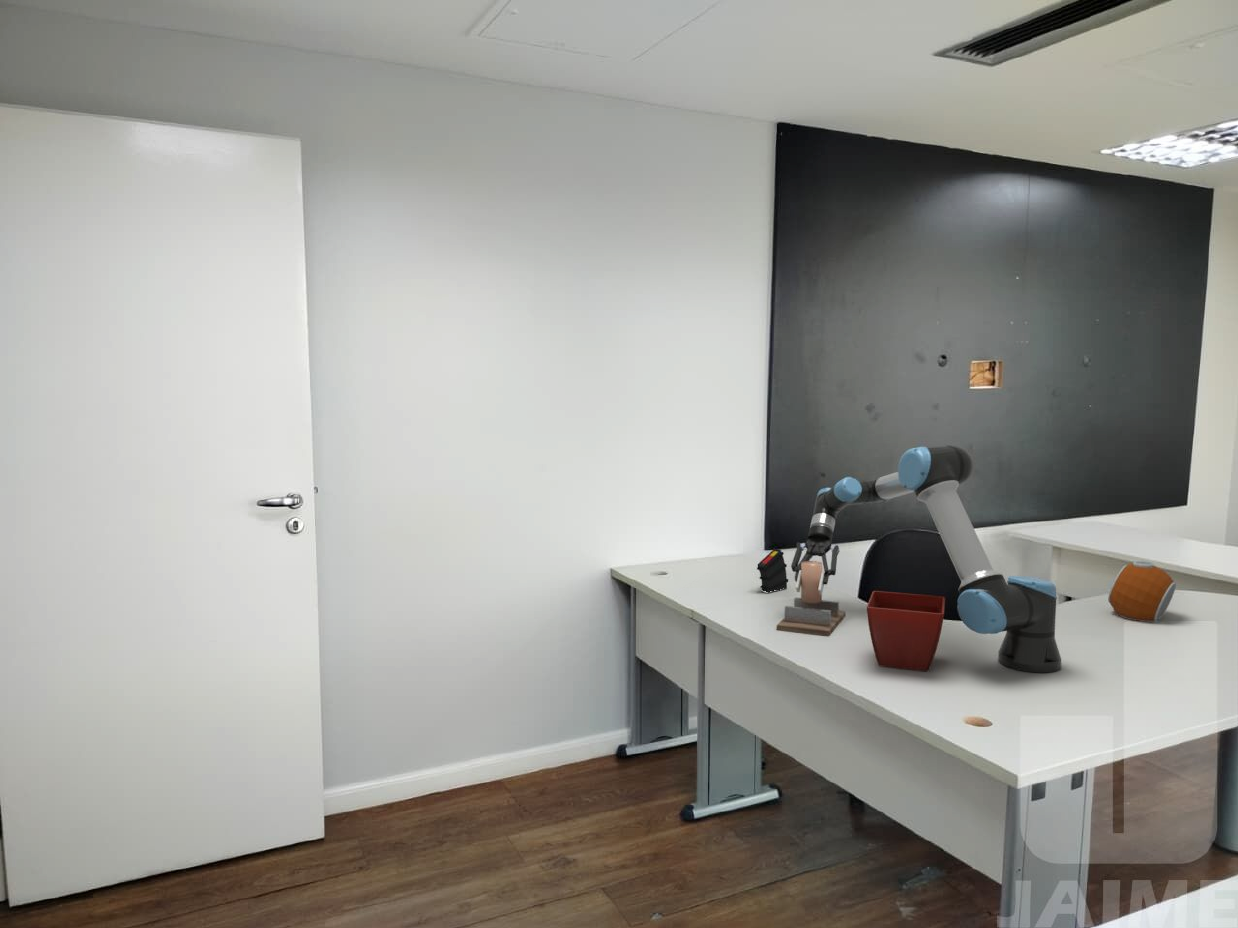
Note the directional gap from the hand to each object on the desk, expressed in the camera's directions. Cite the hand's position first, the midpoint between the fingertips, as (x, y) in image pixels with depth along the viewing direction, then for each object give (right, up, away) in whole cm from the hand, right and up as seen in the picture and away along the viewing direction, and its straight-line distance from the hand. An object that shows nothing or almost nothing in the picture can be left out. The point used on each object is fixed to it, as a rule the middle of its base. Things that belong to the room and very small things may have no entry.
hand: (808, 590), depth 264 cm
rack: (+2, -11, +4) cm, 11 cm away
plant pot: (+18, -14, -34) cm, 42 cm away
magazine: (-3, -7, +45) cm, 46 cm away
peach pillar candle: (+2, -4, +4) cm, 5 cm away
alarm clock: (+107, -9, +6) cm, 107 cm away
